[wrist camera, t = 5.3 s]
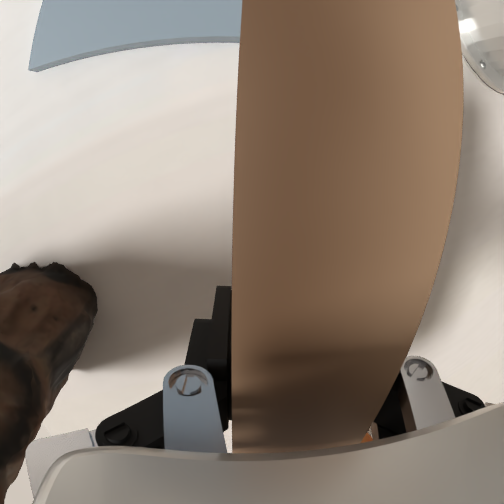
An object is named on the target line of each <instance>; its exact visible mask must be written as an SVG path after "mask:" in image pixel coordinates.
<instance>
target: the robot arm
mask: <svg viewBox="0 0 504 504" xmlns="http://www.w3.org/2000/svg"><path fill="white" fill-rule="evenodd" d="M455 5H456V10H457V17H458V23H459V31H460V40H461V50H462V54H463V56H464V57H465V59H466V60H467V61H468V63H469V64H470V66H471V67H472V68H473V70H474V71H475V72H476V73H477V74H478V76H479V77H480V78H481V79H482V80H483V81H484V82H485V83H486V84H487V85H488V86H490V87H491V88H493V89H494V90H495V91H497V92H500V93H502V94H504V0H455ZM229 420H232V290H231V286H217V288H216V294H215V301H214V308H213V315H212V320H211V319H195V320H194V324H193V328H192V333H191V337H190V342H189V346H188V351H187V356H186V360H185V365H182V366H178V367H176V368H173V369H172V370H170V371H169V372H168V373H167V374H166V376H165V377H164V381H163V390H162V391H160V392H158V393H156V394H154V395H152V396H150V397H148V398H146V399H144V400H142V401H140V402H139V403H137V404H135V405H133V406H131V407H129V408H127V409H125V410H123V411H121V412H118V413H116V414H114V415H112V416H110V417H108V418H106V419H105V420H103V421H102V422H101V423H100V424H99V425H98V427H97V429H96V430H92V431H89V430H88V429H87V428H86V429H82V430H78V431H74V432H70V433H65V434H61V435H56V436H51V437H46V438H41V439H37V440H35V441H32V442H31V443H30V444H29V445H28V447H27V449H26V455H25V458H26V464H27V469H28V475H29V479H30V484H31V488H32V493H33V497H34V501H33V503H32V504H504V402H502V403H498V404H492V403H487V402H486V403H485V404H484V403H483V402H482V400H481V399H480V398H478V397H477V396H475V395H473V394H471V393H468V392H466V391H463V390H461V389H458V388H456V387H454V386H451V385H449V384H446V383H444V382H442V381H441V379H440V377H439V374H438V372H437V369H436V368H435V366H434V365H433V364H432V363H431V362H430V361H429V360H427V359H425V358H423V357H420V356H408V357H406V358H405V361H404V363H403V365H402V367H401V369H400V371H399V374H398V376H397V378H396V380H395V382H394V384H393V386H392V388H391V390H390V392H389V394H388V396H387V398H386V400H385V401H384V403H383V405H382V407H381V409H380V411H379V412H378V414H377V416H376V418H375V420H374V421H373V423H372V425H371V430H372V438H373V441H369V442H364V443H358V444H353V445H347V446H340V447H333V448H325V449H317V450H307V451H295V452H281V453H227V449H226V444H225V440H224V435H223V432H224V431H226V430H227V428H228V422H229Z"/></svg>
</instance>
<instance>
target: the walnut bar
mask: <svg viewBox="0 0 504 504" xmlns="http://www.w3.org/2000/svg"><path fill="white" fill-rule="evenodd" d="M462 126H463V64H462V50H461V40H460V31H459V23H458V17H457V10H456V5H455V0H242V14H241V30H240V48H239V67H238V88H237V110H236V136H235V165H234V200H233V245H232V453H281V452H295V451H307V450H317V449H325V448H333V447H340V446H347V445H353V444H358V443H361V441H362V440H363V438H364V436H365V435H366V433H367V431H368V430H369V428H370V426H371V425H372V423H373V421H374V420H375V418H376V416H377V414H378V412H379V411H380V409H381V407H382V405H383V403H384V401H385V400H386V398H387V396H388V394H389V392H390V390H391V388H392V386H393V384H394V382H395V380H396V378H397V376H398V374H399V371H400V369H401V367H402V365H403V363H404V361H405V358H406V356H407V354H408V351H409V349H410V347H411V344H412V342H413V340H414V337H415V335H416V332H417V330H418V327H419V324H420V322H421V319H422V316H423V314H424V311H425V308H426V305H427V302H428V299H429V296H430V293H431V290H432V287H433V284H434V281H435V277H436V274H437V271H438V267H439V264H440V260H441V256H442V252H443V249H444V245H445V240H446V236H447V232H448V227H449V223H450V218H451V213H452V208H453V202H454V197H455V191H456V184H457V177H458V170H459V162H460V152H461V141H462Z"/></svg>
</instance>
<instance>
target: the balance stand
mask: <svg viewBox="0 0 504 504" xmlns="http://www.w3.org/2000/svg"><path fill="white" fill-rule="evenodd" d="M241 14H242V0H43V2H42V6H41V9H40V13H39V17H38V21H37V25H36V30H35V34H34V39H33V44H32V50H31V55H30V62H29V69H28V70H30V71H35V72H39V71H42V70H45V69H48V68H51V67H54V66H58V65H61V64H64V63H68V62H72V61H76V60H79V59H83V58H88V57H92V56H97V55H101V54H106V53H111V52H117V51H122V50H129V49H135V48H142V47H150V46H159V45H170V44H184V43H207V42H236V43H240V30H241Z"/></svg>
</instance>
